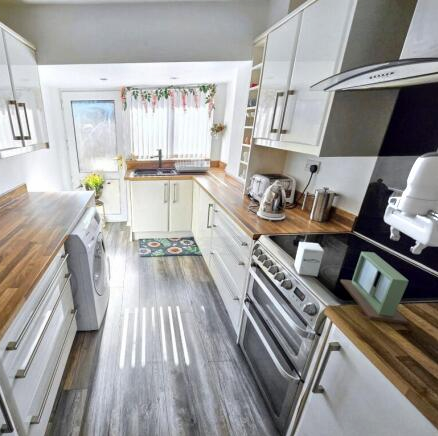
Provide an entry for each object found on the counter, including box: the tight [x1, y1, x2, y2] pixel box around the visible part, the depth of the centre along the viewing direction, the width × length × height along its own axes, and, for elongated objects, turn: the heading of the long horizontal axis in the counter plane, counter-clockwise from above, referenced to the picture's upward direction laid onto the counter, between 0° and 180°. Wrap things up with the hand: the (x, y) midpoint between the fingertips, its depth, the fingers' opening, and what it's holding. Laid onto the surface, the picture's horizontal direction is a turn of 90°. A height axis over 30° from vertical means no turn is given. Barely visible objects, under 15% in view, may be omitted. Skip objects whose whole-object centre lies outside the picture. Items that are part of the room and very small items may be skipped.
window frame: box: [339, 251, 409, 325], centre depth 84 cm, size 10×21×15 cm, turn 165°
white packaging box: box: [293, 241, 325, 277], centre depth 103 cm, size 7×7×13 cm
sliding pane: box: [373, 272, 390, 303], centre depth 80 cm, size 5×8×11 cm, turn 165°
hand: (403, 245), depth 78 cm, fingers open, 8 cm apart
